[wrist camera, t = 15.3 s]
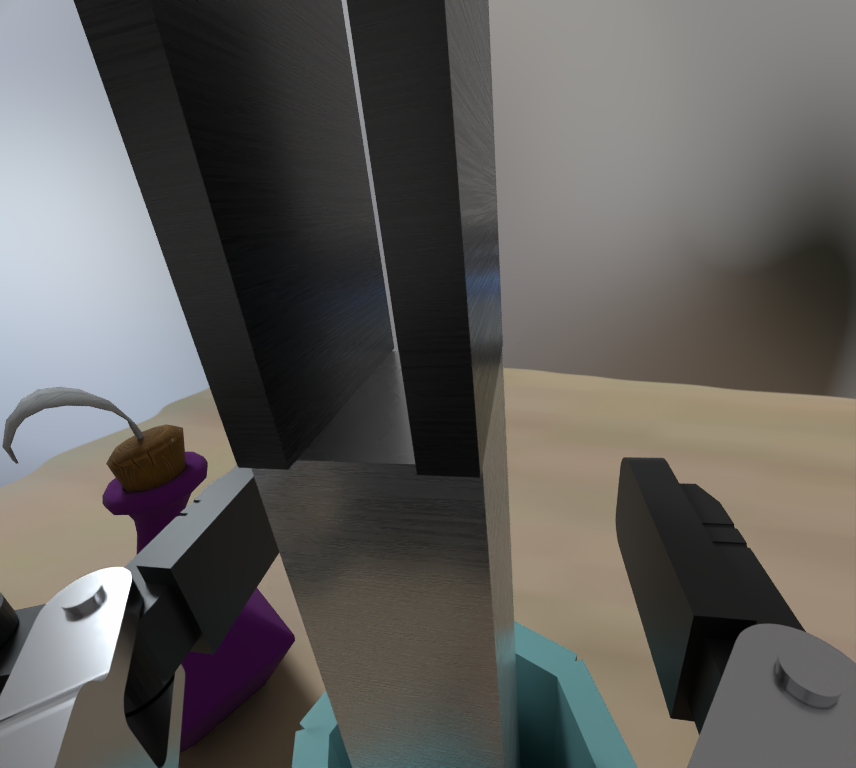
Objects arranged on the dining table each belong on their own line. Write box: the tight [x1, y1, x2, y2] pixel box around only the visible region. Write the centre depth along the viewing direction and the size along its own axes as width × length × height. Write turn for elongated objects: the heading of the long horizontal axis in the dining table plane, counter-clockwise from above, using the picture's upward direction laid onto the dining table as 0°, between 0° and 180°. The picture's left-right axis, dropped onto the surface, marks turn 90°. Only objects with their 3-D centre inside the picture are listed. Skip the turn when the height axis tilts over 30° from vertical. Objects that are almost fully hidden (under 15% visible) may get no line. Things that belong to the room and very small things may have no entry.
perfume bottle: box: [3, 387, 295, 753], centre depth 19 cm, size 8×8×18 cm
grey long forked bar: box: [74, 0, 520, 768], centre depth 9 cm, size 4×4×24 cm
